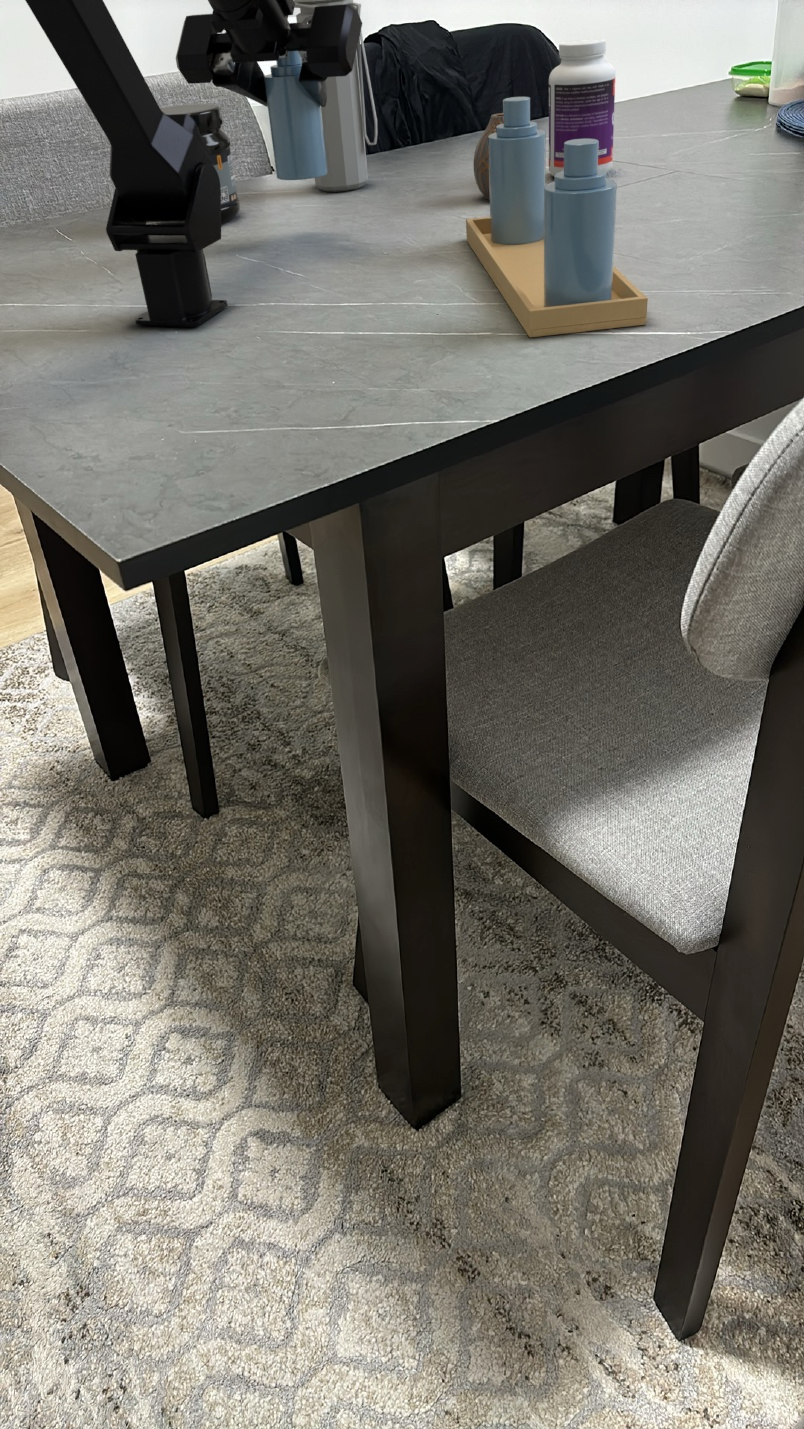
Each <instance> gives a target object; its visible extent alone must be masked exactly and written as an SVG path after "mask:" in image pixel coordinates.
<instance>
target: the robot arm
mask: <svg viewBox="0 0 804 1429" xmlns="http://www.w3.org/2000/svg"><path fill="white" fill-rule="evenodd" d="M24 1H25V3H26V4H27V6H28V7H29V9H30V11H31V12H32V15H33V16H34V17H35V20H36V21H37V23H38V24H39V26H40V27H41V30H42V31H43V32H44V34H45V36H46V38H47V40H48V41H49V43H50V44H51V46H52V48H53V50H54V51H55V52H56V54H57V56H58V58H59V59H60V61H61V63H62V65H63V66H64V68H65V70H66V72H67V73H68V75H69V76H70V78H71V80H72V81H73V83H74V85H75V86H76V88H77V90H78V91H79V93H80V95H81V96H82V98H83V99H84V101H85V102H86V104H87V106H88V108H89V110H90V112H91V113H92V115H93V116H94V118H95V120H96V122H97V123H98V125H99V126H100V128H101V129H102V131H103V133H104V135H105V136H106V137H107V140H108V142H109V145H110V155H109V177H110V179H111V181H112V184H113V186H114V193H113V196H112V201H111V205H110V209H109V213H108V217H107V222H106V226H105V232H106V234H107V237H108V239H109V241H110V244H111V245H112V248H113V250H114V252H122V251H136V253H135V254H134V255H135V260H136V265H137V269H138V274H139V278H140V282H141V287H142V291H143V296H144V300H145V305H146V310H147V311H146V312H144V313H142V314H141V315H139V316H137V317H136V318H135V320H134V321H135V325H137V326H156V327H157V326H163V327H192V328H193V327H199V326H200V325H201V324H203V323H204V322H206V321H208V320H209V319H210V318H212V317H213V316H215V315H217V314H218V313H219V312H221V311H223V310H224V309H225V308H226V307H228V305H229V304H228V301H227V300H226V299H213V294H212V289H211V288H212V287H211V284H210V278H209V272H208V267H207V262H206V261H207V260H206V255H205V253H204V249H206V248H207V247H209V246H211V245H213V244H214V243H217V242H218V241H220V240H221V239H222V223H221V186H220V179H219V176H218V173H217V171H216V169H215V167H214V165H213V163H212V161H211V159H210V158H209V156H211V155H212V152H211V150H210V149H209V148H208V147H207V146H206V145H205V143H204V141H203V140H202V137H201V135H200V132H199V130H198V127H197V125H196V122H195V121H194V120H193V119H192V118H191V117H190V115H189V114H170V115H166V114H165V113H163V112H162V111H161V109H160V108H161V107H160V105H159V104H158V102H157V100H156V98H155V96H154V94H153V92H152V90H151V88H150V87H149V85H148V83H147V81H146V79H145V77H144V75H143V74H142V72H141V69H140V68H139V66H138V64H137V62H136V61H135V58H134V57H133V55H132V53H131V51H130V49H129V47H128V45H127V43H126V42H125V39H124V38H123V36H122V34H121V32H120V30H119V28H118V26H117V24H116V22H115V20H114V19H113V16H112V15H111V12H110V11H109V9H108V7H107V5H106V4H105V2H104V0H24ZM207 2H208V4H209V5H210V7H211V9H212V13H202V14H191V15H186V16H185V18H184V21H183V23H182V24H183V25H182V29H181V33H180V38H179V41H178V42H179V43H178V46H177V50H176V54H175V62H176V67H177V69H178V71H179V72H180V74H181V75H182V77H183V79H184V80H185V81H186V83H187V84H188V85H190V84H191V85H193V84H211V83H212V84H213V85H214V87H216V88H223V89H226V90H229V91H231V92H234V93H235V94H239V95H240V96H243V97H246V98H247V99H250V100H251V101H254V102H255V103H258V104H260V105H262V106H264V107H266V108H268V106H267V98H266V90H265V83H264V76H265V75H266V74H265V73H264V71H263V69H262V68H261V66H260V64H259V63H261V62H262V63H263V62H276V61H278V60H279V58H286V57H287V55H288V51H298V52H299V54H300V56H301V57H303V59H302V61H303V62H302V66H301V71H300V75H299V80H298V81H299V82H300V84H301V85H302V86H303V87H304V88H305V89H306V91H307V92H308V93H309V94H310V95H311V97H312V98H313V99H314V100H315V101H316V102H317V103H318V104H319V105H320V106H321V107H325V106H326V102H327V86H326V79H327V77H338V76H347V75H348V74H349V73H350V72H351V71H352V69H353V65H354V60H355V55H356V51H357V52H358V41H359V37H360V32H361V31H362V27H363V21H362V19H361V15H360V16H359V14H358V12H357V10H356V8H355V7H354V5H353V4H352V3H351V4H337V5H324V6H316V7H315V9H314V14H313V15H312V16H308V17H306V18H305V19H304V21H303V22H300V23H297V22H289V20H288V19H289V16H293V15H294V11H295V9H296V8H295V2H294V0H207ZM223 31H224V33H223ZM159 222H185V223H184V224H161V223H159ZM147 223H149V224H147ZM150 223H152V224H150ZM153 223H155V224H153Z"/></svg>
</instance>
